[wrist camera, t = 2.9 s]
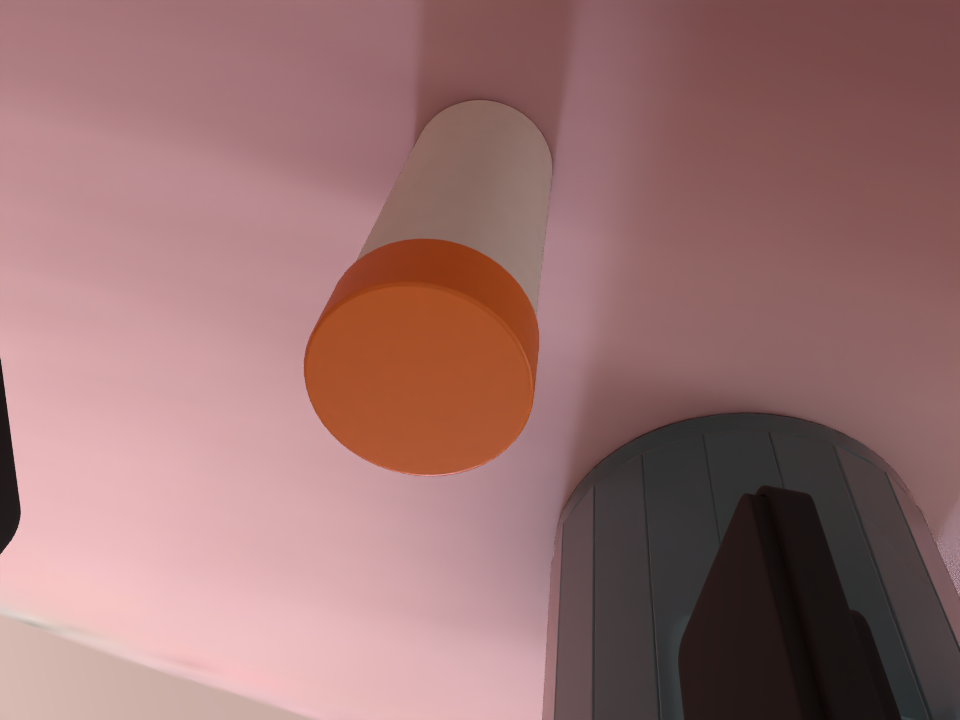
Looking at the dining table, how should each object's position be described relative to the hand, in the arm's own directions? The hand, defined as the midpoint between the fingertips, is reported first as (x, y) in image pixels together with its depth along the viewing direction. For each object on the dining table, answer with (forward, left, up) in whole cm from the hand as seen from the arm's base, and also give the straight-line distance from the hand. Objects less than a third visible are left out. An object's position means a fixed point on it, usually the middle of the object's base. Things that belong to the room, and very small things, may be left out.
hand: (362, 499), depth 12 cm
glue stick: (0, 0, -11) cm, 11 cm away
